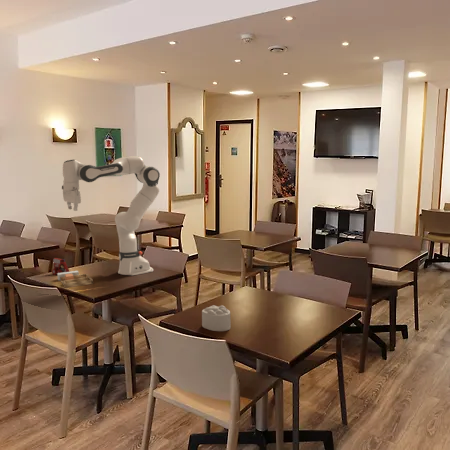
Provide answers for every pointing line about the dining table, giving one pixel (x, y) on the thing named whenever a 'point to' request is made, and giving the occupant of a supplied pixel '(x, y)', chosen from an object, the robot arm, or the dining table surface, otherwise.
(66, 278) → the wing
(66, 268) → the toy fire truck
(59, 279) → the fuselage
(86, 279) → the jig
